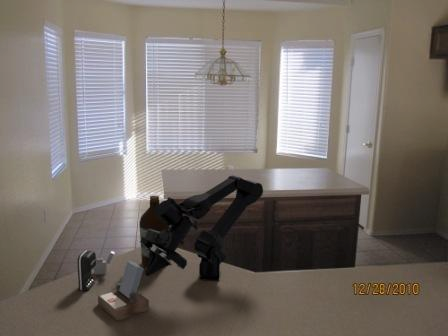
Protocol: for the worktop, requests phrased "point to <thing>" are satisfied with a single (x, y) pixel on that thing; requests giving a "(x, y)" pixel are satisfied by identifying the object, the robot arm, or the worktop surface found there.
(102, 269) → the lighter
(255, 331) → the worktop surface
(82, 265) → the battery charger
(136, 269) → the block
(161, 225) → the olive oil
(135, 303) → the switch base
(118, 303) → the switch plate
